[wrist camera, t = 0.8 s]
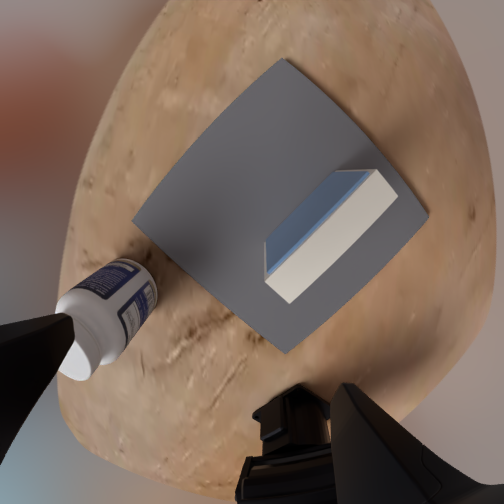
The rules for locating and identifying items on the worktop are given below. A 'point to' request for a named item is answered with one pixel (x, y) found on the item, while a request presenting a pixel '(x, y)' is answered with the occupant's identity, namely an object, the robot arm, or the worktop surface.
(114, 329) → the pill bottle
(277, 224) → the mat
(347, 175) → the tile
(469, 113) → the worktop surface
